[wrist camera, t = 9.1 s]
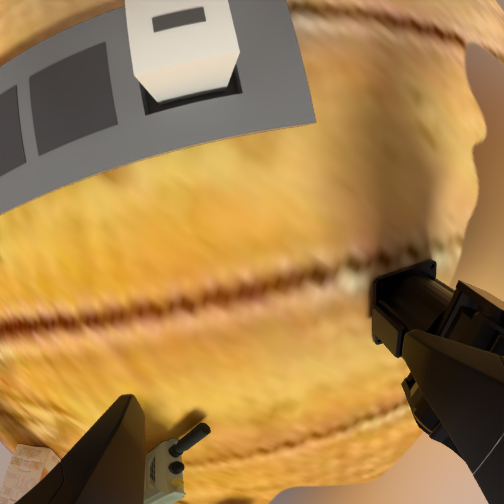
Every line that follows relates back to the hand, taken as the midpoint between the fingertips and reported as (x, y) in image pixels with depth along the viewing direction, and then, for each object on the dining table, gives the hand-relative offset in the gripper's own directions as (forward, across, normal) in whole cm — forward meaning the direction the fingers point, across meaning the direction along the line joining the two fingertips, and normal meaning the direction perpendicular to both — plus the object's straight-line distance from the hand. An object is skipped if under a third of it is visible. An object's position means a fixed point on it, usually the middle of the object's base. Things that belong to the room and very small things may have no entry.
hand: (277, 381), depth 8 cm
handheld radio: (+12, +15, +23) cm, 30 cm away
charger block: (+11, +1, -12) cm, 17 cm away
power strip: (+11, +11, -12) cm, 20 cm away
